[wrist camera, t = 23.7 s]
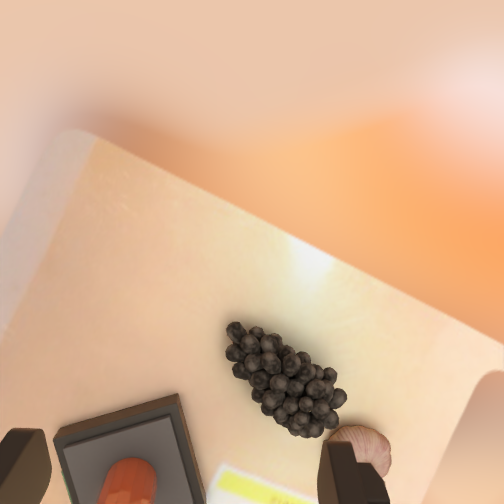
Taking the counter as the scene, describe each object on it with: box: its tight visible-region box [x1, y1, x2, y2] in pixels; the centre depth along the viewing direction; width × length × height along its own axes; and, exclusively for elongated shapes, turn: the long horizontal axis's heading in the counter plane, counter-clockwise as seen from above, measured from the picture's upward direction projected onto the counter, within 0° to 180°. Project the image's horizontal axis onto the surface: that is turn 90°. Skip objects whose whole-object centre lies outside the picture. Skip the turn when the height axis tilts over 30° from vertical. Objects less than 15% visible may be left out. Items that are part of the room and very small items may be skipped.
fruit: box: [225, 322, 347, 438], centre depth 42 cm, size 9×8×15 cm
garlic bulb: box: [329, 426, 391, 484], centre depth 44 cm, size 8×7×8 cm
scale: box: [53, 394, 206, 504], centre depth 43 cm, size 13×13×3 cm
